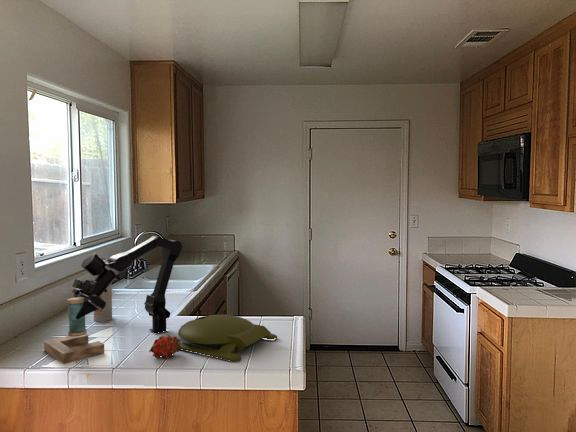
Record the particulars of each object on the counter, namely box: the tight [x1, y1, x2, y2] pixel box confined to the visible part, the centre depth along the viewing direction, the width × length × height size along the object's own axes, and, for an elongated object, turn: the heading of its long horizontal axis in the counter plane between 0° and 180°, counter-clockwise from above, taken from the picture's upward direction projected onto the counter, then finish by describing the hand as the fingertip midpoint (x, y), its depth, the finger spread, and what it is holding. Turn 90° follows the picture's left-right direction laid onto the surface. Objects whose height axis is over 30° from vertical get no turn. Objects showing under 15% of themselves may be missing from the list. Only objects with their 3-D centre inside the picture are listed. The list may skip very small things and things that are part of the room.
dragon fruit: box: [148, 334, 182, 359], centre depth 179 cm, size 8×8×12 cm
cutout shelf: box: [43, 333, 105, 364], centre depth 183 cm, size 15×19×4 cm
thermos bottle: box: [92, 257, 113, 323], centre depth 225 cm, size 8×8×28 cm
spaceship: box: [177, 314, 278, 362], centre depth 194 cm, size 35×31×10 cm
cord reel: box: [66, 297, 88, 336], centre depth 183 cm, size 6×6×13 cm
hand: (73, 317), depth 182 cm, fingers closed on cord reel, 6 cm apart
